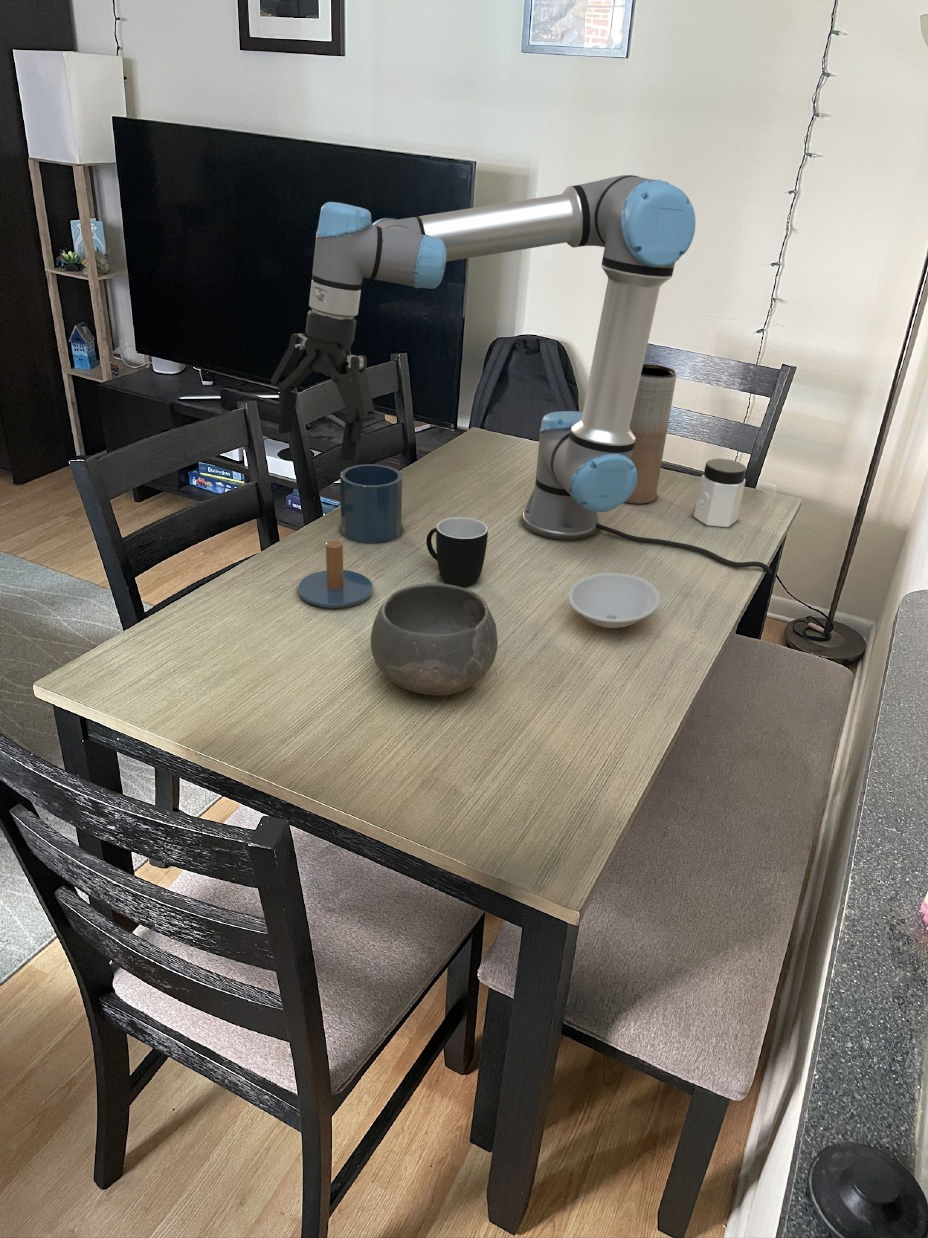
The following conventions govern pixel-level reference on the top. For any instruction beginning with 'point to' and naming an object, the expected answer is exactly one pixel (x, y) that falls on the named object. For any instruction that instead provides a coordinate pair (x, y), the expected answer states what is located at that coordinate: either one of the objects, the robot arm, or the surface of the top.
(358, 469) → the blue cylindrical container
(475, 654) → the bowl
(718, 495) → the jar
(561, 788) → the top surface
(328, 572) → the lid
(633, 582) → the dish
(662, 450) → the vase
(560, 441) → the robot arm
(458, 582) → the mug
